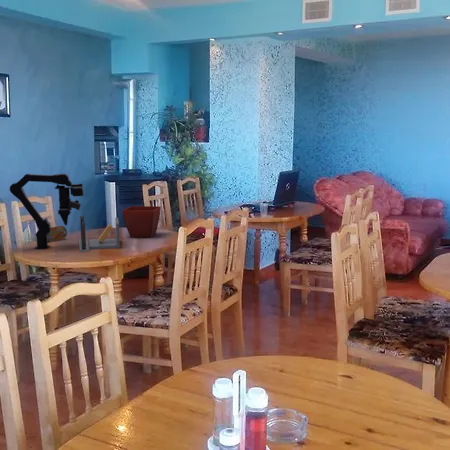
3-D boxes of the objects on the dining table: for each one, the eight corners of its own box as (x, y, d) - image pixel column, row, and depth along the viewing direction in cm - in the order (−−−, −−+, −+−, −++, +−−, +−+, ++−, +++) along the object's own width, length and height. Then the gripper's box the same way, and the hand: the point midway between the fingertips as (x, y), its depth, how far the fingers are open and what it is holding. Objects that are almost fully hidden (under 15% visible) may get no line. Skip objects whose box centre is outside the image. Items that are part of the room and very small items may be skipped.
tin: (46, 243, 348) (45, 228, 346) (43, 242, 350) (42, 228, 348) (67, 239, 359) (66, 225, 358) (64, 238, 361) (63, 224, 360)
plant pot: (122, 238, 360) (121, 210, 357) (131, 232, 379) (131, 206, 376) (154, 238, 357) (153, 210, 355) (161, 233, 376) (161, 206, 373)
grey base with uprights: (89, 249, 328) (88, 224, 326) (90, 241, 349) (89, 218, 347) (119, 248, 331) (118, 223, 329) (118, 240, 352) (117, 217, 350)
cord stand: (79, 252, 322) (78, 223, 320) (78, 241, 353) (77, 215, 350) (89, 251, 323) (87, 223, 321) (87, 240, 354) (86, 215, 352)
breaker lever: (97, 241, 337) (109, 225, 336) (97, 240, 341) (108, 223, 341) (101, 244, 337) (112, 227, 337) (101, 242, 342) (112, 226, 342)
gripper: (78, 198, 324) (80, 227, 327) (80, 194, 342) (81, 221, 345) (57, 198, 322) (59, 228, 325) (59, 195, 340) (61, 222, 343)
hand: (65, 225), depth 334 cm, fingers closed
